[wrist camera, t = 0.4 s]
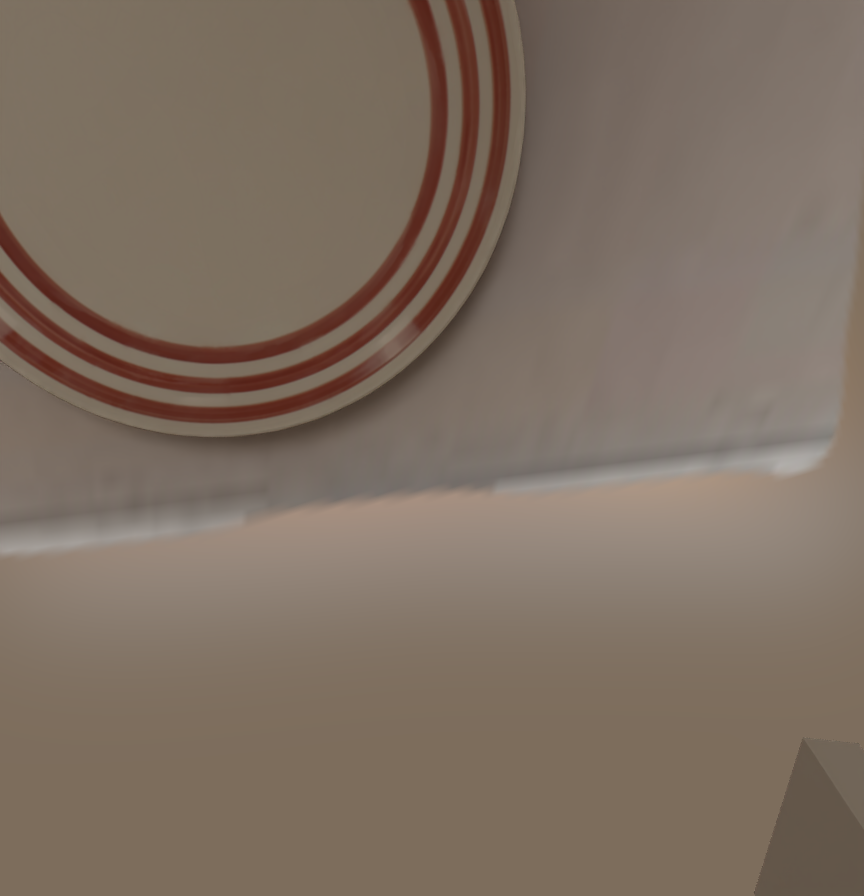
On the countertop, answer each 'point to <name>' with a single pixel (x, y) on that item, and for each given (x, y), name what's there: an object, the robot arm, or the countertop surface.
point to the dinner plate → (246, 197)
